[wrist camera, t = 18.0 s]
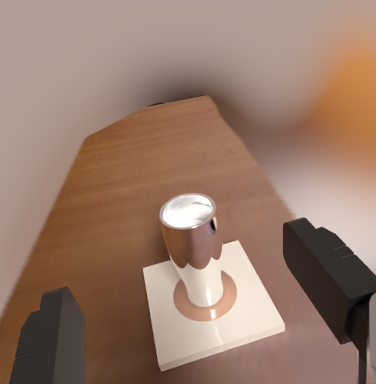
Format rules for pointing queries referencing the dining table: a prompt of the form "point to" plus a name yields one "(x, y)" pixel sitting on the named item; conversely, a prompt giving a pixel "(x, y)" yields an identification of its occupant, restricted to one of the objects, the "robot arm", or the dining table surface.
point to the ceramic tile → (208, 320)
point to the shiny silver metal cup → (195, 248)
